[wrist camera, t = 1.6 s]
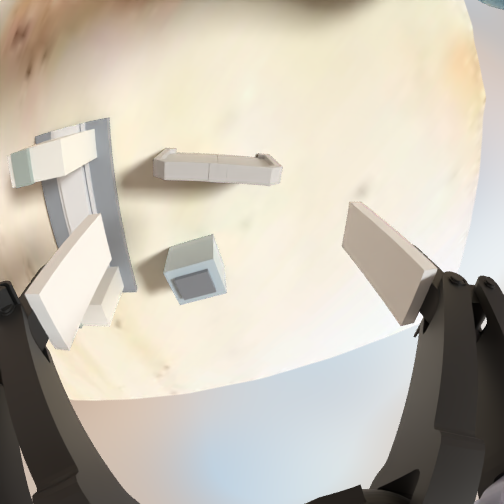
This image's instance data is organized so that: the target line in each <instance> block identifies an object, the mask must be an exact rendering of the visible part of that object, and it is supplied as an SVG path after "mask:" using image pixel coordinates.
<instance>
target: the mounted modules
mask: <svg viewBox="0 0 504 504" xmlns="http://www.w3.org/2000/svg"><path fill="white" fill-rule="evenodd" d="M95 158H97V150H96V140H95V129H91V130H87V131H82V132H78V133H74V134H70V135H66V136H62V137H59V138H55V139H51V140H47V141H44V142H41V143H39V144H36V145H33V146H30V147H28V148H25V149H23V150H20V151H18V152H15V153H12V154H10V155H8V156H7V159H8V166H9V172H10V178H11V183H12V188H14V187H16V188H20V187H24V186H28V185H32V184H33V183H35V182H38V181H43V180H47V179H52V178H56V177H61V176H66V175H67V174H69V173H71V172H72V171H74V170H76V169H77V168H79V167H81V166H83V165H84V164H86V163H88V162H90V161H92V160H93V159H95ZM123 288H124V285H123V281H122V278H121V274H120V271H119V267H118V266H117V267H110V268H107V269H106V271H105V273H104V275H103V277H102V279H101V281H100V283H99V285H98V287H97V289H96V291H95V293H94V295H93V297H92V299H91V301H90V304H89V306H88V308H87V310H86V312H85V315H84V317H83V319H82V321H81V324H80V326H79V328H82V326H83V325H87V326H110V324H111V321H112V319H113V316H114V313H115V310H116V307H117V304H118V302H119V299H120V296H121V294H122V291H123Z"/></svg>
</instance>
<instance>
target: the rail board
mask: <svg viewBox="0 0 504 504" xmlns="http://www.w3.org/2000/svg"><path fill="white" fill-rule="evenodd" d="M91 129H95V140H96V150H97V158H95V159H93V160H92V161H90V162H88V163H86V164H84V165H83V166H81V167H79V168H77V169H76V170H74V171H72V172H71V173H69V174H67V175H66V176H61V177H56V178H52V179H47V180H43V181H41V182H42V187H43V192H44V197H45V201H46V206H47V210H48V214H49V218H50V222H51V226H52V229H53V233H54V236H55V240H56V243H57V246H58V249H59V248H60V246H61V245H62V244H63V243H64V242H65V240H66V239H67V238H68V237H69V236H70V235H71V234H72V232H73V231H74V230H75V229H76V228H77V227H78V226H79V225H80V224H81V222H82V221H83V220H84V219H85V218H86V217H87V216H88V215H91V214H99V213H101V216H102V221H103V225H104V230H105V234H106V238H107V242H108V246H109V250H110V254H111V258H112V260H111V261H110V263H109V265H108V267H107V268H110V267H117V266H118V267H119V271H120V274H121V278H122V281H123V285H124V288H123V291H122V292H137V285H136V282H135V278H134V274H133V270H132V266H131V262H130V257H129V253H128V249H127V244H126V239H125V235H124V230H123V224H122V219H121V214H120V208H119V202H118V196H117V189H116V182H115V174H114V166H113V157H112V147H111V135H110V120H109V118H104V119H99V120H94V121H90V122H85V123H81V124H77V125H73V126H69V127H65V128H62V129H58V130H55V131H51V132H48V133H45V134H42V135H39V136H35V141H36V144H39V143H41V142H44V141H47V140H51V139H55V138H59V137H62V136H66V135H70V134H74V133H78V132H82V131H87V130H91Z"/></svg>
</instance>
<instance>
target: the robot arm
mask: <svg viewBox="0 0 504 504" xmlns="http://www.w3.org/2000/svg"><path fill="white" fill-rule="evenodd" d="M479 1H481V2H482V3H484V4H487V5H489V6H491V7H495V8H498V9H503V10H504V0H479ZM342 247H343V248H344V250H345V251H346V252H347V253H348V255H349V256H350V257H351V259H352V260H353V261H354V262H355V264H356V265H357V266H358V268H359V269H360V270H361V272H362V273H363V274H364V275H365V277H366V278H367V279H368V281H369V282H370V284H371V285H372V286H373V288H374V289H375V290H376V292H377V293H378V294H379V296H380V297H381V299H382V300H383V301H384V303H385V304H386V306H387V307H388V308H389V310H390V311H391V313H392V314H393V316H394V317H395V318H396V320H397V321H398V323H399V324H400V326H403V325H407V324H411V323H414V321H415V319H416V317H417V315H418V313H419V312H420V313H421V314H422V315H423V319H422V321H421V323H420V325H419V327H418V329H417V331H416V332H415V334H414V337H416V336H417V334H419V339H418V345H417V351H416V358H415V363H414V368H413V373H412V378H411V383H410V387H409V391H408V396H407V399H406V403H405V407H404V411H403V414H402V418H401V422H400V424H399V428H398V431H397V434H396V437H395V440H394V443H393V446H392V449H391V451H390V454H389V457H388V459H387V461H386V463H385V465H384V466H383V468H382V469H381V470H380V471H379V473H378V474H377V476H376V477H375V479H374V480H373V482H372V484H371V486H370V488H369V489H362V488H361V485H358V486H355V487H353V488H350V489H347V490H344V491H340V492H337V493H333V494H330V495H326V496H323V497H319V498H317V499H315V500H312V501H310V502H308V503H306V504H504V295H503V293H502V291H501V289H500V288H499V286H498V285H497V283H496V282H495V281H494V280H493V279H492V278H490V277H486V276H480V277H478V279H477V282H476V284H475V285H469V284H468V283H467V281H466V280H465V279H464V278H463V277H462V276H460V275H459V274H457V273H454V272H450V271H449V272H445V273H444V272H443V271H442V270H441V269H440V268H439V267H437V266H436V265H435V264H434V263H433V262H432V261H431V260H430V259H429V258H428V257H427V256H426V255H425V254H423V252H422V251H420V250H419V249H418V248H417V247H416V246H414V245H413V244H411V243H410V242H409V241H408V240H407V239H406V238H404V237H403V236H402V235H401V234H400V233H399V232H397V231H396V230H395V229H394V228H393V227H392V226H390V225H389V224H388V223H387V222H386V221H384V220H383V219H382V218H381V217H380V216H378V215H377V214H376V213H375V212H373V211H372V210H371V209H370V208H368V207H367V206H366V205H365V204H363V203H362V202H349V208H348V215H347V221H346V226H345V232H344V237H343V243H342ZM111 260H112V258H111V254H110V250H109V246H108V242H107V238H106V234H105V230H104V225H103V221H102V216H101V213H99V214H91V215H88V216H87V217H86V218H85V219H84V220H83V221H82V222H81V224H80V225H79V226H78V227H77V228H76V229H75V230H74V231H73V232H72V234H71V235H70V236H69V237H68V238H67V239H66V240H65V242H64V243H63V244H62V245H61V246H60V248H59V249H58V250H57V251H56V252H55V254H54V255H53V256H52V257H51V259H50V260H49V261H48V262H47V264H45V265H44V266H43V267H42V268H40V270H39V271H38V272H37V274H36V275H35V277H34V278H33V279H32V280H31V283H29V285H28V286H27V287H26V289H25V290H24V292H23V293H22V294H21V296H20V297H19V298H18V296H17V294H16V292H15V290H14V288H13V286H12V284H11V282H10V281H3V282H0V504H140V503H138V502H137V501H136V500H135V499H133V498H132V497H131V496H130V495H129V494H128V493H127V492H126V491H125V490H124V489H123V487H122V486H121V485H120V484H119V482H118V481H117V479H116V478H115V477H114V475H113V474H112V473H111V471H110V470H109V468H108V467H107V465H106V464H105V462H104V461H103V459H102V458H101V456H100V455H99V453H98V452H97V450H96V448H95V447H94V445H93V444H92V442H91V440H90V439H89V437H88V435H87V433H86V432H85V430H84V428H83V426H82V424H81V422H80V421H79V419H78V417H77V415H76V413H75V411H74V409H73V407H72V405H71V403H70V401H69V398H68V396H67V394H66V392H65V390H64V387H63V385H62V383H61V380H60V378H59V375H58V373H57V370H56V368H55V365H54V363H53V360H52V357H51V354H50V352H49V350H48V349H47V347H46V343H47V341H48V339H49V340H50V341H51V343H52V345H53V346H54V348H55V349H61V350H70V348H71V346H72V343H73V341H74V338H75V336H76V333H77V331H78V328H79V326H80V324H81V321H82V319H83V317H84V315H85V312H86V310H87V308H88V306H89V304H90V301H91V299H92V297H93V295H94V293H95V291H96V289H97V287H98V285H99V283H100V281H101V279H102V277H103V275H104V273H105V271H106V269H107V267H108V265H109V263H110V261H111ZM485 317H486V318H487V324H486V326H485V328H484V329H483V330H482V329H481V324H482V323H483V321H484V319H485ZM19 445H20V447H19ZM20 448H21V451H22V454H23V456H24V459H25V461H26V464H27V466H28V468H29V471H30V473H31V475H32V477H33V480H34V482H35V484H36V487H37V492H36V493H35V494H34V495H33V496H32V497H33V498H32V499H33V502H32V499H31V496H30V492H29V489H28V485H27V481H26V477H25V473H24V468H23V463H22V458H21V453H20ZM477 491H478V496H479V500H477V501H475V498H476V495H477Z"/></svg>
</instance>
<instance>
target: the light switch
mask: <svg viewBox="0 0 504 504" xmlns="http://www.w3.org/2000/svg"><path fill="white" fill-rule="evenodd" d="M281 174H282V166H281V165H280V164H279V163H278V162H277V161H276V160H275V159H274V158H273V157H272V156H270V155H269V154H260V153H258V158H257V157H247V156H235V155H220V154H218V156H217V154H202V153H177V148H165V149H164V150H163V151H162V152H161V153H160V154H158V155H157V156H156V157H155V158H154V159H153V176H155V177H157V178H160V179H163V180H184V181H208V182H218V183H241V184H254V185H266V186H270V185H274V184H278V183H280V180H281Z"/></svg>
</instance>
